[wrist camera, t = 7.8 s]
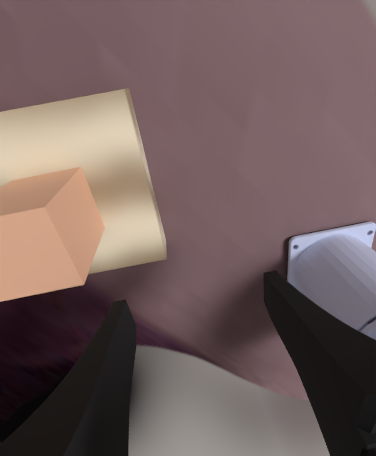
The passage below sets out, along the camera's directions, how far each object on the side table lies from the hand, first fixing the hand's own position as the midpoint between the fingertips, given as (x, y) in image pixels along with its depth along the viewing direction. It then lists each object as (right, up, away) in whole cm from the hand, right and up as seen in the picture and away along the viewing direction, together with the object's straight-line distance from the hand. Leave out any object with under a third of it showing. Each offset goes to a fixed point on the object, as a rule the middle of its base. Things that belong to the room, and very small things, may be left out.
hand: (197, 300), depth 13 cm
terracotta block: (-9, +5, +4) cm, 11 cm away
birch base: (-9, +7, +7) cm, 13 cm away
